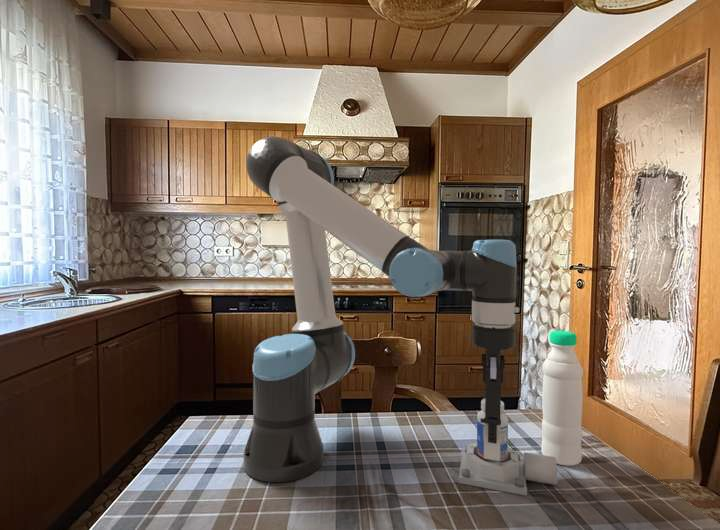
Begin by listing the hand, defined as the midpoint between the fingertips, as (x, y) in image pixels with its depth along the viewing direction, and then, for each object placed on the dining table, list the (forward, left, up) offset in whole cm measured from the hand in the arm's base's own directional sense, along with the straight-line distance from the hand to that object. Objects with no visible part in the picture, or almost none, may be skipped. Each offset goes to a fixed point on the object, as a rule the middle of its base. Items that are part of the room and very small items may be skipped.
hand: (491, 450), depth 71 cm
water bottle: (+13, +10, -4) cm, 17 cm away
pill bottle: (0, 0, -1) cm, 1 cm away
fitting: (+3, 0, -4) cm, 5 cm away
